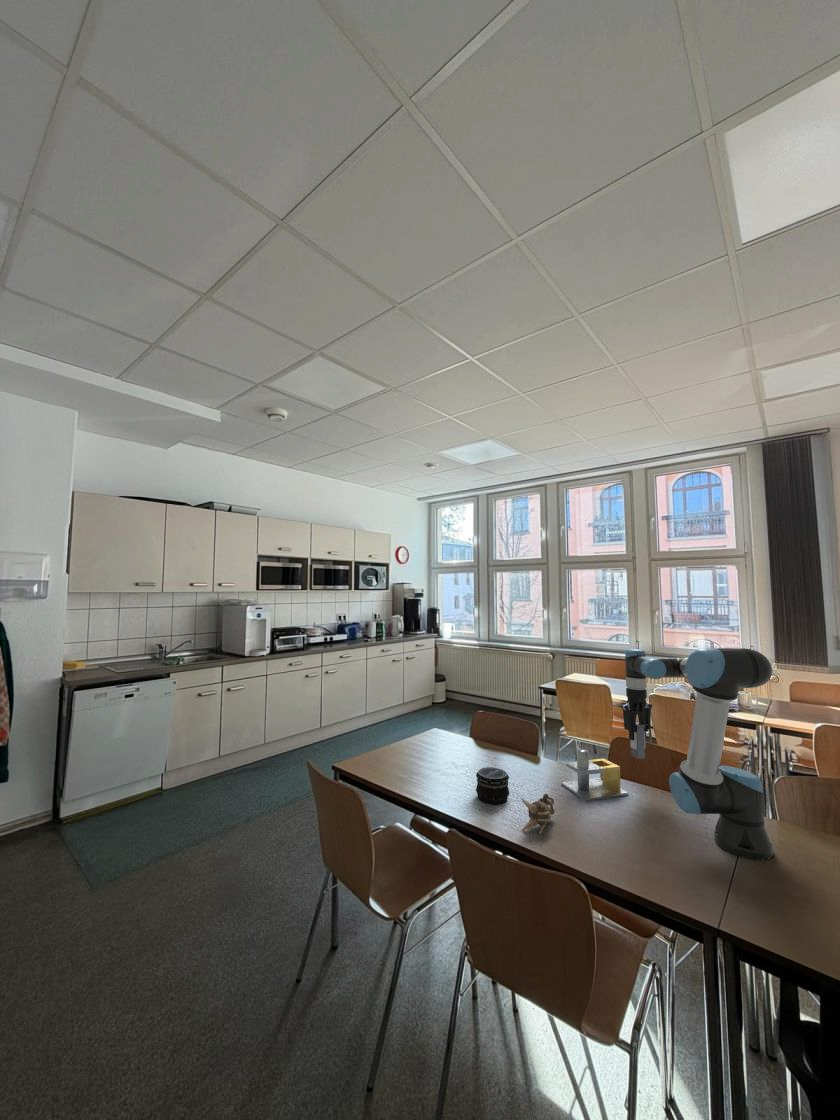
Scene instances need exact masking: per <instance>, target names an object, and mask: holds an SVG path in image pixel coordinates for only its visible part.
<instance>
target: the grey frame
mask: <svg viewBox="0 0 840 1120" xmlns="http://www.w3.org/2000/svg"><path fill="white" fill-rule="evenodd" d="M589 752H590V751H589V750H588V749H585V748H577V749H576V759H577V761H570V762H566V768H568V769H570V770H572V771H573V772H575V773H577V780H570V781H563V782H560V785H561V787H564V788H565V789H567V790H569V791H570V792H571V793H572V794H574V795H575V796H577V797H578V798H580V799H582V800H583V801H585V802H591V801H598V800H604V799H605V800H606V799H611V798H612V799H613V798H617V797H618V798H619V797H625V796H626V797H627V796H629V792H628V791H626V790H624V789H623V788H621V766H620V765H617V764H616V763H614V762H612V761H609V760H608V759H606V758H598V759H589V758H590V757H589V756H590V755H589V754H590V753H589ZM596 774H597V775H598V774H600V775H599V777H593V778H590V775H596Z"/></svg>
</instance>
